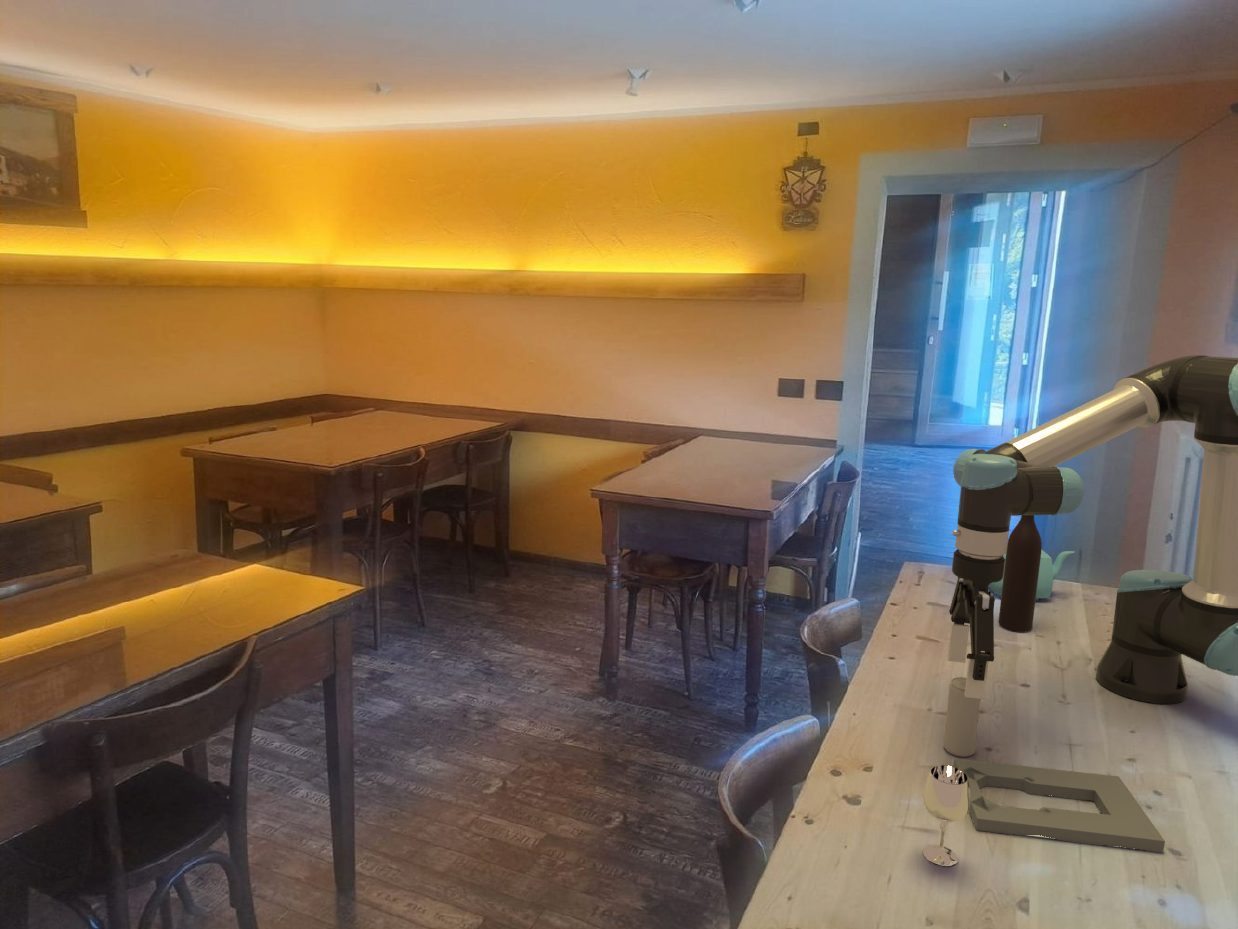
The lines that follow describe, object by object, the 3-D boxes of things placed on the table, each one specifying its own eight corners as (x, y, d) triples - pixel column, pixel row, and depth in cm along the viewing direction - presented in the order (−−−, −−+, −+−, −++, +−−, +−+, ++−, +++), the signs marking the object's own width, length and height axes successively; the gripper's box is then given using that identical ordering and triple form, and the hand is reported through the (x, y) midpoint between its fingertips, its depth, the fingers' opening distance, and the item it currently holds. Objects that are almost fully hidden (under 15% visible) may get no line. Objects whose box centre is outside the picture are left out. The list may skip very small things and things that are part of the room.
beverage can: (977, 760, 136) (984, 691, 134) (945, 756, 137) (952, 688, 135) (971, 745, 141) (978, 678, 139) (940, 741, 142) (947, 675, 140)
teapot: (1023, 610, 204) (1030, 557, 201) (966, 589, 218) (972, 539, 215) (1069, 598, 213) (1076, 547, 210) (1012, 579, 227) (1017, 530, 224)
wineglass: (910, 843, 115) (918, 763, 113) (951, 841, 116) (959, 762, 113) (929, 871, 110) (937, 788, 107) (971, 869, 110) (981, 786, 108)
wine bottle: (1033, 625, 194) (1049, 499, 188) (1029, 635, 188) (1045, 505, 182) (1000, 619, 198) (1014, 494, 192) (995, 628, 192) (1010, 500, 186)
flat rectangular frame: (1117, 787, 129) (1118, 776, 129) (1163, 853, 114) (1164, 841, 114) (953, 768, 134) (954, 758, 133) (976, 830, 118) (977, 818, 118)
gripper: (939, 530, 145) (927, 645, 149) (972, 575, 121) (956, 711, 125) (985, 533, 144) (972, 650, 148) (1027, 579, 120) (1009, 717, 124)
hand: (964, 678), depth 137 cm, fingers open, 13 cm apart
